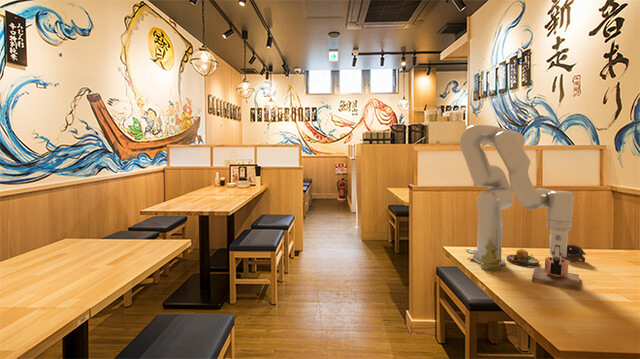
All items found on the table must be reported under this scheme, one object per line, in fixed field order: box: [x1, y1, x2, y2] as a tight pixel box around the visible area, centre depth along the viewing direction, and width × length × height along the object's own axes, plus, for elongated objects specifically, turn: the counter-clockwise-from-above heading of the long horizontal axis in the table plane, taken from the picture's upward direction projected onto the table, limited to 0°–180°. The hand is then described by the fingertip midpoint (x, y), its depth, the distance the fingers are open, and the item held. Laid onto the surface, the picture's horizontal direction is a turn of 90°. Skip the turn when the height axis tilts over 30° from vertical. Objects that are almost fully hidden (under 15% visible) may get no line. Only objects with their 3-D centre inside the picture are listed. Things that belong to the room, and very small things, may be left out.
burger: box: [506, 248, 540, 267], centre depth 145 cm, size 12×12×8 cm
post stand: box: [531, 266, 581, 292], centre depth 125 cm, size 14×14×6 cm
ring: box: [544, 256, 569, 277], centre depth 124 cm, size 7×7×5 cm
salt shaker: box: [480, 244, 502, 272], centre depth 136 cm, size 7×7×10 cm
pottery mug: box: [561, 244, 586, 262], centre depth 147 cm, size 12×10×8 cm
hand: (555, 270), depth 125 cm, fingers closed on ring, 7 cm apart
